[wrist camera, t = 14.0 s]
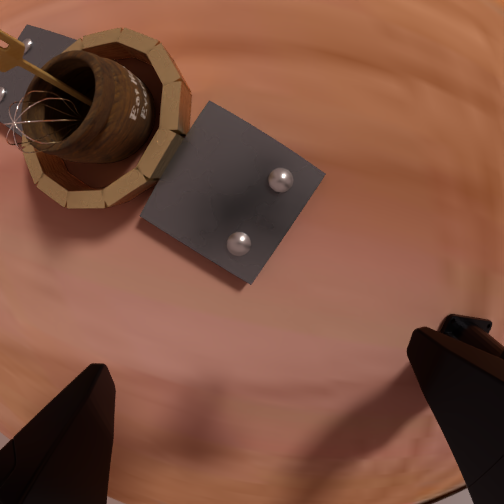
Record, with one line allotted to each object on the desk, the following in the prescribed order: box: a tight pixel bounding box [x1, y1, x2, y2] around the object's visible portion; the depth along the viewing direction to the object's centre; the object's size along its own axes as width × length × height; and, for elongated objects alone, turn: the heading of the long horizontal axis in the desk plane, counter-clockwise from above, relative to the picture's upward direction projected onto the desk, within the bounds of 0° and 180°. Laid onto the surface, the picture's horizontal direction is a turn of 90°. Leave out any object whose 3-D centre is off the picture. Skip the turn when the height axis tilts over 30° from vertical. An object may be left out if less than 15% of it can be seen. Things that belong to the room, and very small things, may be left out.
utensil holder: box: [0, 30, 155, 163], centre depth 11 cm, size 6×6×12 cm
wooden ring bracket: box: [0, 25, 326, 285], centre depth 15 cm, size 27×11×3 cm, turn 57°
